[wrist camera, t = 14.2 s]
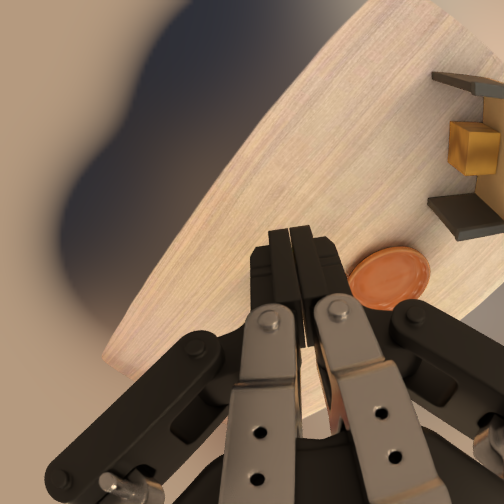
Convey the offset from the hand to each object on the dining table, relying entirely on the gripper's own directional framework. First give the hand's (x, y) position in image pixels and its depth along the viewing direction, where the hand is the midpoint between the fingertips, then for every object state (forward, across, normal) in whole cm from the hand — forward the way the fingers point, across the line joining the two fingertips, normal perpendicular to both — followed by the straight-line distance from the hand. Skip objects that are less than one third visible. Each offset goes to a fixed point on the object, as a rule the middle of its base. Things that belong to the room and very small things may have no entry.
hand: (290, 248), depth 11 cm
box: (+29, -30, +7) cm, 42 cm away
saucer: (+29, -17, +31) cm, 46 cm away
